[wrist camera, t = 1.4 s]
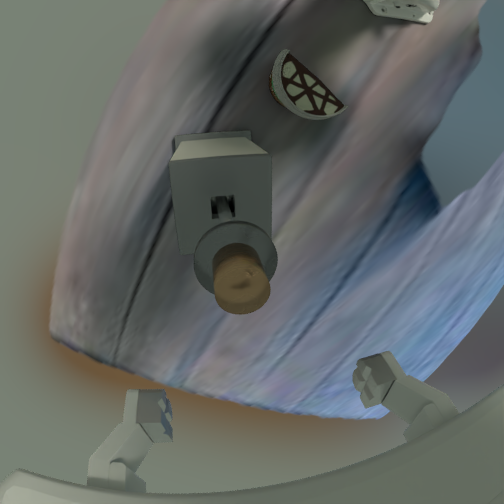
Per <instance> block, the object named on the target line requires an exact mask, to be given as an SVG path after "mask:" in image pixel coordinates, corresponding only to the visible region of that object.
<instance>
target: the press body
mask: <svg viewBox="0 0 504 504" xmlns="http://www.w3.org/2000/svg"><path fill="white" fill-rule="evenodd" d="M175 148H176V151H175V153H174V155H173V157H172V158H171V160H170V162H169V173H170V183H171V191H172V200H173V208H174V216H175V223H176V230H177V237H178V244H179V251H180V255H188V254H194V252H195V248H196V246H197V243H198V242H199V240H200V238H201V237H202V236H203V235H204V234H205V233H206V232H207V231H208V230H209V229H211V228H212V227H214V226H216V225H218V224H220V221H219V215H218V213H216V214H212V211H211V198H210V197H214V196H226V195H233V204H234V212H231V215H232V218H233V221H237V220H239V221H246V222H250V223H253V224H255V225H257V226H259V227H260V228H262V229H263V230H264V231H265V232H266V233H267V234H268V235H269V237H270V238H271V233H272V156H271V155H270V154H269V153H267V152H266V151H264V150H263V149H262V148H260V147H259V146H257V145H256V144H254V143H253V142H252V141H251V130H240V131H222V132H208V133H196V134H186V135H176V136H175Z"/></svg>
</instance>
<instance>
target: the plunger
mask: <svg viewBox="0 0 504 504" xmlns="http://www.w3.org/2000/svg"><path fill="white" fill-rule="evenodd" d="M210 198H211V211H212V214H216V213H218V215H219V221H220V224H218V225H216V226H214V227H212V228H211V229H209V230H208V231H207V232H206V233H205V234H204V235H203V236H202V237H201V238H200V240H199V242H198V243H197V246H196V248H195V252H194V270H195V274H196V277H197V279H198V281H199V282H200V283H201V285H202V286H203V287H204V288H205V289H206V290H208V291H209V292H211V293H213V294H215V298H216V301H217V303H218V305H219V306H220V307H221V308H222V309H223V310H225V311H227V312H229V313H233V314H248V313H251V312H254V311H256V310H258V309H259V308H261V307H262V306H263V305H264V304H265V303H266V301H267V300H268V298H269V296H270V284H269V281H270V280H271V278H272V277H273V275H274V273H275V271H276V267H277V261H278V259H277V251H276V248H275V246H274V244H273V242H272V240H271V238H270V237H269V235H268V234H267V233H266V232H265V231H264V230H263V229H262V228H260V227H259V226H257V225H255V224H253V223H250V222H246V221H239V220H237V221H233V218H232V215H231V212H234V204H233V195H226V196H214V197H210Z"/></svg>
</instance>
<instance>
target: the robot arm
mask: <svg viewBox="0 0 504 504" xmlns="http://www.w3.org/2000/svg"><path fill="white" fill-rule="evenodd" d="M363 1H364V2H365V3H366V4H367V6H368V7H369V9H370V10H371V11H372V13H373V14H375V15H377V16H384V17H391V18H398V19H405V20H410V21H416V22H421V23H430V22H431V20H432V17H433V11H434V10H436V9H437V8H438V6H439V0H363ZM381 9H382V10H383V11H382V10H381ZM356 365H357V368H356V369H355V370H354V372H353V384H354V386H355V388H356V390H357V391H359V392H361V395H360V399H361V401H362V403H363V405H364V407H365V408H369V407H372V406H375V405H378V404H381V403H382V405H383V406H385V407H386V408H387V409H389V410H390V411H391V412H393V413H394V414H396V415H398V416H399V417H400V418H401V419H403V420H404V421H406V422H407V423H409V424H410V425H409V427H408V428H407V429H406V430H405V431H404V436H405V438H406V440H407V443H404V444H402V445H400V446H398V447H396V448H393V449H391V450H389V451H386V452H384V453H381V454H379V455H376V456H374V457H371V458H369V459H366V460H363V461H361V462H358V463H355V464H352V465H349V466H346V467H343V468H340V469H337V470H333V471H330V472H327V473H323V474H319V475H316V476H312V477H308V478H304V479H300V480H295V481H291V482H286V483H281V484H276V485H270V486H265V487H258V488H251V489H243V490H235V491H225V492H212V493H189V494H166V493H146V483H145V482H144V481H143V480H142V479H141V478H140V477H139V476H137V475H136V474H135V472H136V470H137V469H138V467H139V466H140V464H141V462H142V461H143V459H144V458H145V456H146V455H147V453H148V451H149V450H150V448H151V447H152V445H153V442H173V439H172V438H173V436H172V427H171V425H170V422H171V421H172V409H171V404H170V401H169V399H167V398H166V392H165V390H164V389H153V390H152V389H151V390H140V389H139V390H138V389H137V390H136V389H135V390H128V391H127V393H126V401H125V409H124V417H123V423H119V424H118V426H117V427H116V428H115V429H114V430H113V432H112V433H111V434H110V435H109V436H108V437H107V438H106V440H105V441H104V442H103V443H102V444H101V446H100V447H99V448H98V449H97V450H96V451H95V453H94V454H93V455H92V456H91V457H90V459H89V467H88V478H87V485H81V484H76V483H72V482H67V481H63V480H59V479H55V478H51V477H47V476H44V475H40V474H37V473H34V472H30V471H28V470H25V469H16V470H14V471H13V472H12V473H10V474H9V475H8V476H7V477H6V478H5V479H4V480H3V481H2V482H1V483H0V504H504V384H503V385H501V386H500V387H498V388H497V389H496V390H494V391H493V392H491V393H490V394H489V395H487V396H486V397H485V398H483V399H482V400H480V401H479V402H477V403H476V404H474V405H473V406H471V407H470V408H468V409H467V410H465V411H463V412H462V413H460V414H459V412H458V411H457V409H456V407H455V406H454V405H453V403H452V401H451V400H450V398H449V397H448V395H447V394H445V393H443V392H441V391H439V390H437V389H435V388H433V387H431V386H429V385H427V384H425V383H423V382H421V381H420V380H418V379H416V378H414V377H412V376H410V375H408V376H406V374H405V373H404V371H403V370H402V368H401V366H400V365H399V363H398V362H397V360H396V359H395V357H394V356H393V354H392V353H391V352H390V351H385V352H382V353H379V354H375V355H371V356H368V357H365V358H361V359H359V360H358V361H357V364H356Z"/></svg>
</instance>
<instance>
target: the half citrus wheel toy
mask: <svg viewBox="0 0 504 504" xmlns="http://www.w3.org/2000/svg"><path fill="white" fill-rule="evenodd" d="M289 51H290V50H287V49H284V50H282V51H281V52H280V53H279V55H278V57H277V58H276V60H275V63H274V66H273V69H272V71H271V74H270V76H269V88H270V91H271V94H272V96H273V97H274V99H275V100H276V101H277V102H278V103H279V104H281V105H282V106H284V107H286V108H288V109H289V110H290V111H291V112H293V113H295V114H296V115H298V116H300V117H303V118H306V119H311V120H323V119H327V118H331V117H334V116H336V115H338V114H340V113H341V112H343V111H344V110H345V109H346V108H348V106H347V105H343V104H342V102H341V101H339V100H338V99H337V98H336V97H335V96H334V95H333V93H332V92H331V91H330V90H329V89H328V88H327V87H326V86H325V85H324V84H323V83H322V82H321V81H320V80H319V79H318V78H317V77H316V76H315V75H314V74H313V73H311V72H310V71H309V70H308V69H307V68H306V67H305V66H303V65H302V64H301V63H300V62H299V61H298V60H297V59H296V58H294V57H293V56H292V55H291V54H290V53H288V52H289Z"/></svg>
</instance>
